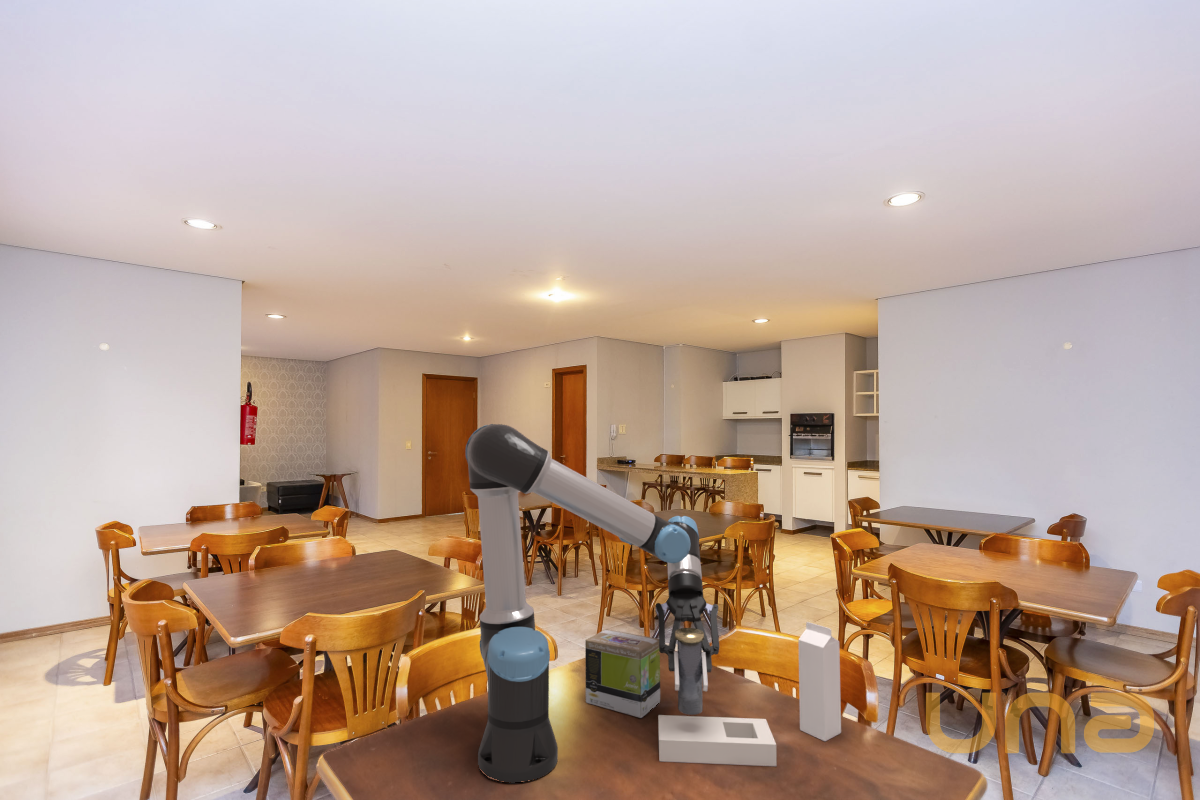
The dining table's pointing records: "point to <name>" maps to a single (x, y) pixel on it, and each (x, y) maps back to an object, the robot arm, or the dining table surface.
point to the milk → (819, 682)
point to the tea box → (623, 672)
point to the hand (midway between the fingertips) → (691, 687)
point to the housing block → (716, 740)
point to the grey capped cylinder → (690, 670)
